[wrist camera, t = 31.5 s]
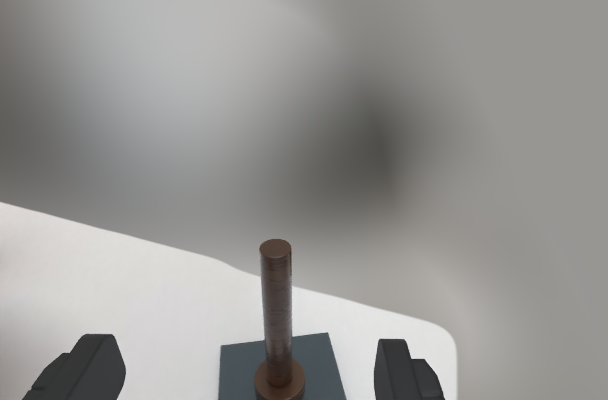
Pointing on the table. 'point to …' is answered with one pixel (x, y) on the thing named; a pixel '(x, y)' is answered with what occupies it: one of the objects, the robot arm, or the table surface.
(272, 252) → the stirrer
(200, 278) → the table surface
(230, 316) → the table surface
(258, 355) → the square plate
